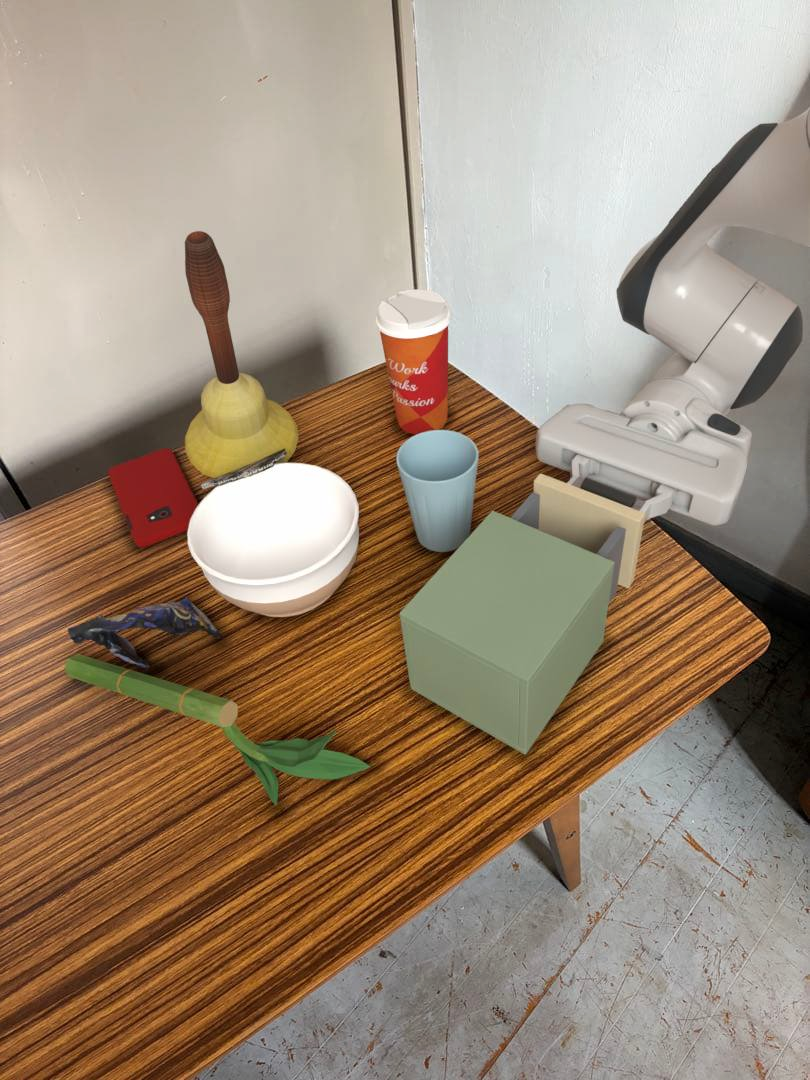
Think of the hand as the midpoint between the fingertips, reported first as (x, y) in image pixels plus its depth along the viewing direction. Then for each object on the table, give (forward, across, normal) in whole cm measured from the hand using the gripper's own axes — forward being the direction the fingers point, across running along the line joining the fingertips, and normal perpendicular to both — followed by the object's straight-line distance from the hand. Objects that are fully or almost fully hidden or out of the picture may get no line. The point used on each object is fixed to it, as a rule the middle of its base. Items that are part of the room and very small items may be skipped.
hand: (601, 507), depth 74 cm
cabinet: (+16, 0, +6) cm, 17 cm away
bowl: (+19, -24, +6) cm, 31 cm away
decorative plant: (+36, -18, +7) cm, 41 cm away
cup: (+6, -14, +6) cm, 16 cm away
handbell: (+10, -38, +1) cm, 39 cm away
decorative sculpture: (+9, -31, 0) cm, 32 cm away
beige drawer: (+6, 0, +5) cm, 8 cm away
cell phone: (+18, -45, +5) cm, 49 cm away
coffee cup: (-9, -27, +6) cm, 29 cm away
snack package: (+37, -32, +3) cm, 49 cm away
